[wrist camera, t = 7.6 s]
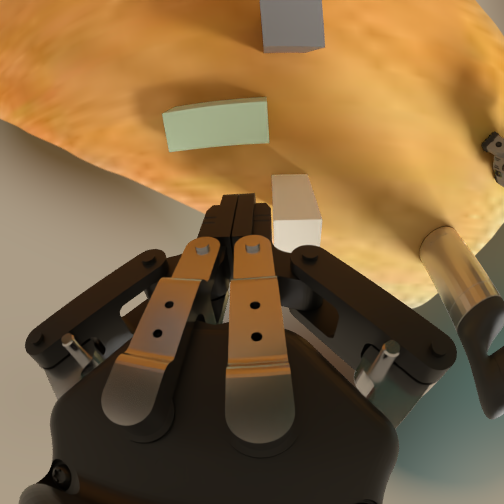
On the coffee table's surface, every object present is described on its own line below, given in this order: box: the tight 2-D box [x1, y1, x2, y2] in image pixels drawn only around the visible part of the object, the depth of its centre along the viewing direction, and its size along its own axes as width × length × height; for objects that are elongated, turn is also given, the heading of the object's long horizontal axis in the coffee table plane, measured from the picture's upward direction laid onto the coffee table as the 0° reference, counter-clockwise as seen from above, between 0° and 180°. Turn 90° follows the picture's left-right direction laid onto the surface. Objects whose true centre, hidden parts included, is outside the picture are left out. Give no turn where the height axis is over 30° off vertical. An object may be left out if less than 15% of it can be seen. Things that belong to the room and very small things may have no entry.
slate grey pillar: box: [260, 0, 325, 53], centre depth 21 cm, size 5×5×12 cm
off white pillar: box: [272, 174, 322, 253], centre depth 34 cm, size 5×5×12 cm
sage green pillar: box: [162, 97, 269, 152], centre depth 31 cm, size 5×5×12 cm
